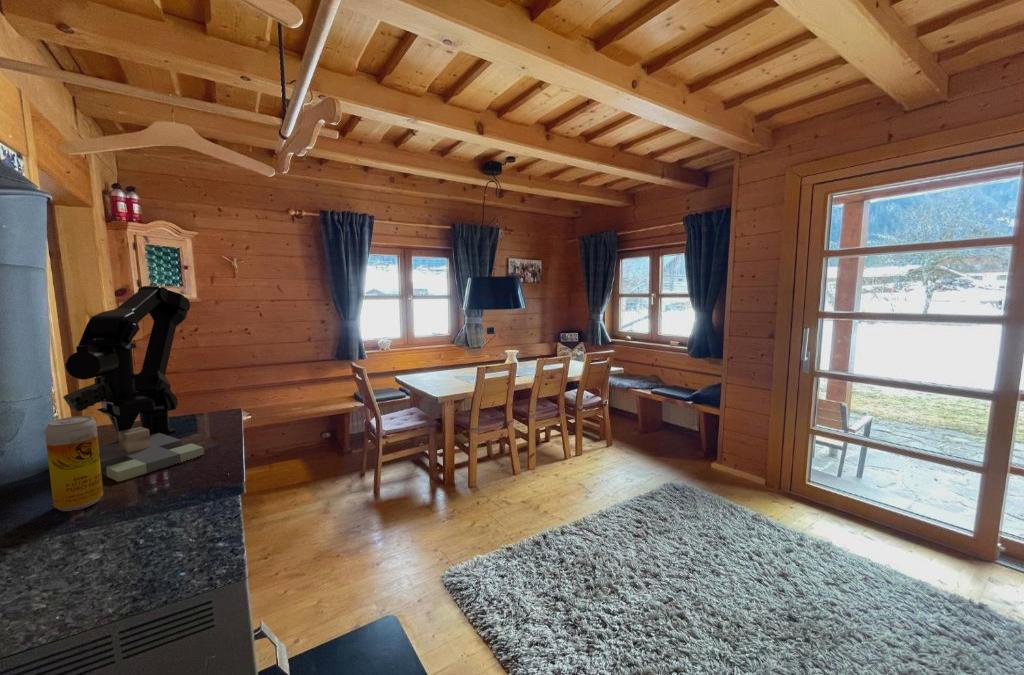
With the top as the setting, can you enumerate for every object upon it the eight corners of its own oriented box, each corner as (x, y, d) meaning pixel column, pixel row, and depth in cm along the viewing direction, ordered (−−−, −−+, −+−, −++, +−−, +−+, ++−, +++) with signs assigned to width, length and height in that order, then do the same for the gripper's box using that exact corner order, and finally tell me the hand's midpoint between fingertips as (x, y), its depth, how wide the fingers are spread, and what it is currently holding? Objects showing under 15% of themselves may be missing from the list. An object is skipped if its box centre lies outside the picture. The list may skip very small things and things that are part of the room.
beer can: (71, 514, 70) (62, 426, 68) (44, 510, 71) (34, 424, 70) (112, 497, 76) (105, 416, 74) (86, 494, 77) (78, 413, 76)
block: (119, 449, 93) (118, 431, 93) (142, 443, 97) (140, 426, 96) (128, 452, 92) (126, 434, 91) (150, 446, 95) (149, 429, 95)
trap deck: (76, 461, 91) (75, 453, 91) (159, 440, 105) (159, 432, 104) (118, 481, 82) (117, 472, 82) (203, 455, 95) (203, 447, 95)
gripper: (50, 372, 92) (57, 441, 94) (84, 381, 84) (92, 457, 85) (116, 365, 102) (122, 427, 104) (153, 372, 93) (159, 440, 95)
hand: (123, 438), depth 97 cm, fingers closed
